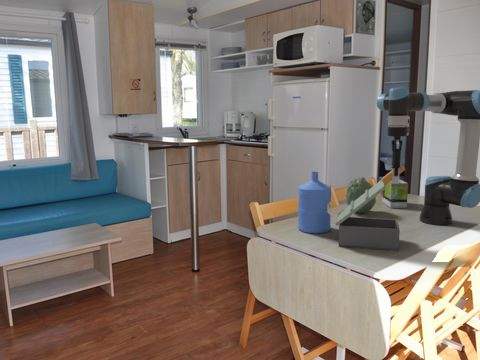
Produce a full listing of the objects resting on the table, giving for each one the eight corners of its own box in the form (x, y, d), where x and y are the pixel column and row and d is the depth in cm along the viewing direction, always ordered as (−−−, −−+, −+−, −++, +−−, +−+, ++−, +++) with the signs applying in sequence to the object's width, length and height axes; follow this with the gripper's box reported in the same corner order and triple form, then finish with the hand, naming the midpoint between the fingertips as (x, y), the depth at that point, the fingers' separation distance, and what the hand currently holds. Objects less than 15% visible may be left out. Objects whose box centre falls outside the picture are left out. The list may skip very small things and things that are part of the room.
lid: (403, 166, 184) (399, 161, 184) (406, 172, 168) (402, 167, 168) (339, 216, 196) (335, 211, 196) (336, 226, 180) (332, 221, 180)
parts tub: (396, 239, 190) (397, 219, 188) (398, 250, 175) (399, 229, 173) (340, 235, 197) (341, 216, 195) (338, 246, 182) (339, 225, 180)
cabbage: (379, 210, 239) (381, 175, 236) (369, 218, 224) (370, 181, 220) (352, 207, 248) (353, 173, 245) (340, 214, 233) (341, 178, 229)
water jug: (309, 235, 197) (309, 175, 192) (291, 227, 211) (292, 171, 206) (337, 231, 203) (338, 173, 198) (318, 223, 217) (319, 168, 212)
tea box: (407, 208, 245) (408, 182, 242) (389, 208, 245) (391, 183, 243) (398, 202, 260) (399, 178, 257) (381, 202, 260) (382, 178, 257)
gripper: (386, 125, 183) (384, 179, 187) (388, 127, 168) (386, 186, 172) (405, 125, 181) (403, 179, 185) (409, 127, 166) (406, 186, 170)
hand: (395, 182), depth 178 cm, fingers closed on lid, 3 cm apart
